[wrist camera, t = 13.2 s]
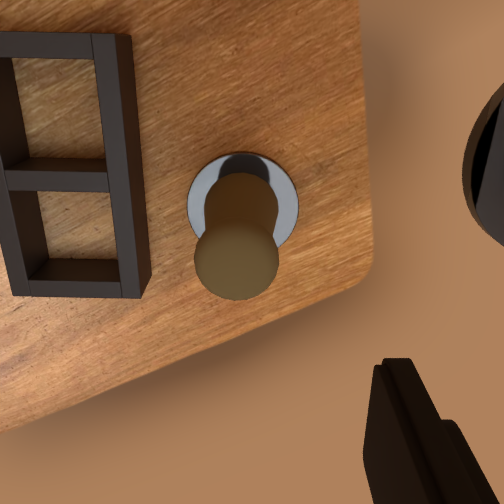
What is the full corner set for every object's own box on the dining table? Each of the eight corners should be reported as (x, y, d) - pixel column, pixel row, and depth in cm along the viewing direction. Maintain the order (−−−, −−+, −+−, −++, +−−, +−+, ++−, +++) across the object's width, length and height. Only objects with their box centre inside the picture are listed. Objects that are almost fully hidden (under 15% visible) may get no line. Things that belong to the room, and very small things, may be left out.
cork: (193, 228, 36) (169, 297, 26) (218, 160, 34) (203, 207, 24) (261, 253, 37) (263, 329, 27) (291, 189, 35) (304, 245, 25)
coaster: (301, 153, 34) (302, 154, 34) (294, 258, 38) (295, 260, 37) (185, 150, 34) (184, 152, 34) (189, 256, 38) (189, 258, 37)
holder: (131, 35, 31) (114, 33, 27) (151, 275, 39) (141, 299, 35) (-16, 32, 31) (-52, 29, 27) (35, 273, 39) (12, 296, 35)
